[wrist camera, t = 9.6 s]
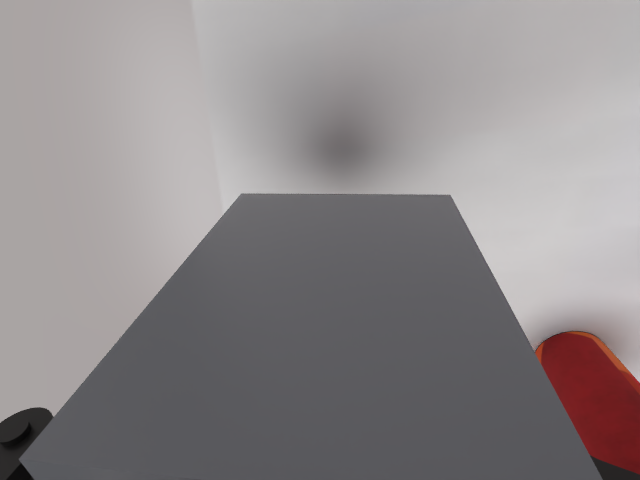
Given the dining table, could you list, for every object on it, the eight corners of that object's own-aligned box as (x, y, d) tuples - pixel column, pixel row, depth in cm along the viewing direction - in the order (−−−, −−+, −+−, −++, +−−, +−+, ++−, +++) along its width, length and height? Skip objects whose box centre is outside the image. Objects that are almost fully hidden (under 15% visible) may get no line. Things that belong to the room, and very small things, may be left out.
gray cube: (241, 193, 12) (18, 459, 4) (450, 194, 11) (626, 525, 4) (264, 341, 15) (160, 641, 8) (427, 351, 14) (493, 699, 7)
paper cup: (505, 372, 33) (582, 564, 21) (549, 311, 29) (674, 504, 17) (586, 393, 33) (711, 596, 21) (641, 334, 29) (833, 543, 17)
